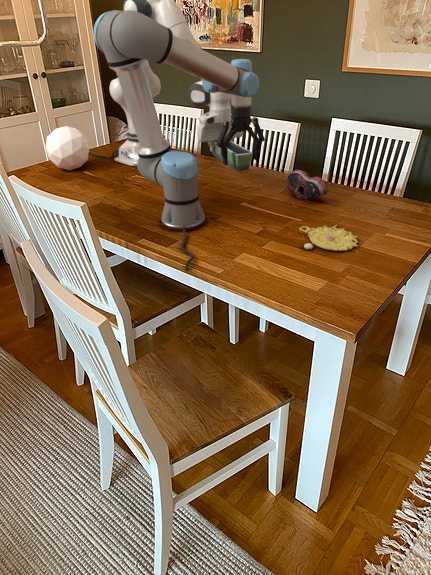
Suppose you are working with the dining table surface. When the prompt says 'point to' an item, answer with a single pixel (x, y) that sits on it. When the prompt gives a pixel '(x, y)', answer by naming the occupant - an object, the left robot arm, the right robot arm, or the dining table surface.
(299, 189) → the athletic shoe
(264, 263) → the dining table surface
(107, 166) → the dining table surface
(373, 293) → the dining table surface
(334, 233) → the decorative object
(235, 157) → the planter
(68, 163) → the sphere
